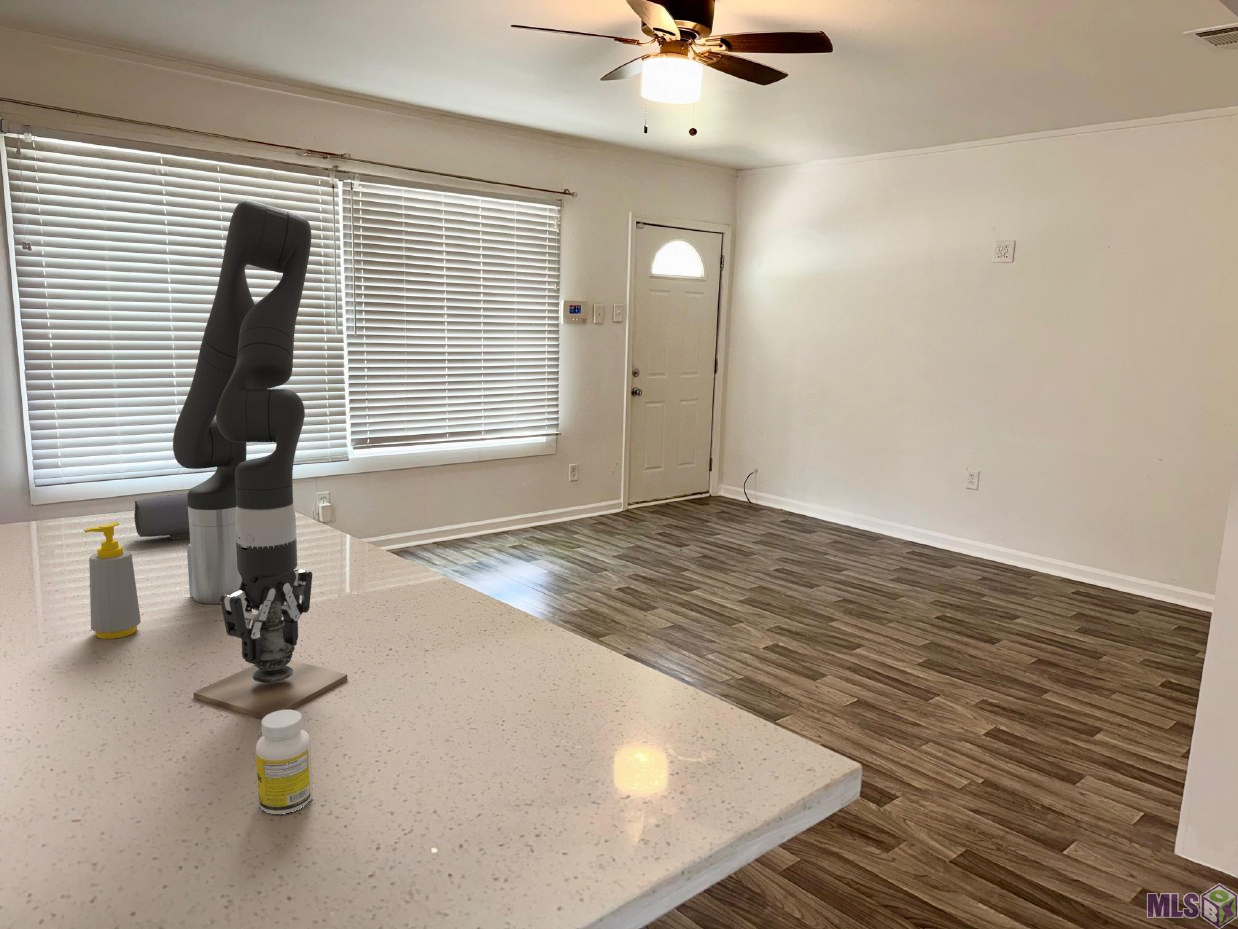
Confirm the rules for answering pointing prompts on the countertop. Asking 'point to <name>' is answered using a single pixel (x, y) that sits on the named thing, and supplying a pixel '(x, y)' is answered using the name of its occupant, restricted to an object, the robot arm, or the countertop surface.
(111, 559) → the soap bottle
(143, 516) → the bluetooth speaker
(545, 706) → the countertop surface
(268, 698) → the walnut pad
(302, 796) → the supplement bottle
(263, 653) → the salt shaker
